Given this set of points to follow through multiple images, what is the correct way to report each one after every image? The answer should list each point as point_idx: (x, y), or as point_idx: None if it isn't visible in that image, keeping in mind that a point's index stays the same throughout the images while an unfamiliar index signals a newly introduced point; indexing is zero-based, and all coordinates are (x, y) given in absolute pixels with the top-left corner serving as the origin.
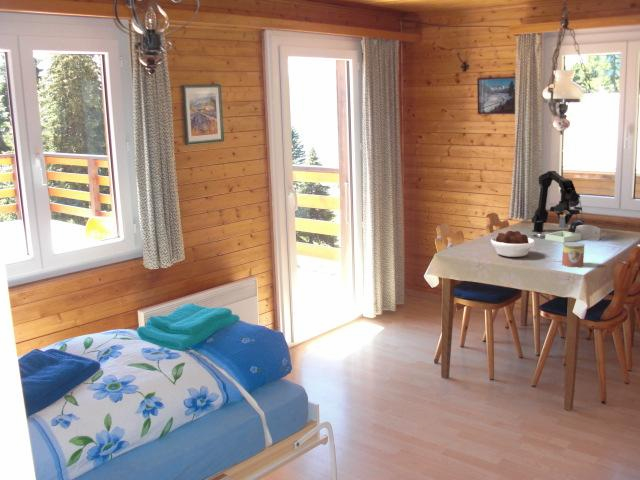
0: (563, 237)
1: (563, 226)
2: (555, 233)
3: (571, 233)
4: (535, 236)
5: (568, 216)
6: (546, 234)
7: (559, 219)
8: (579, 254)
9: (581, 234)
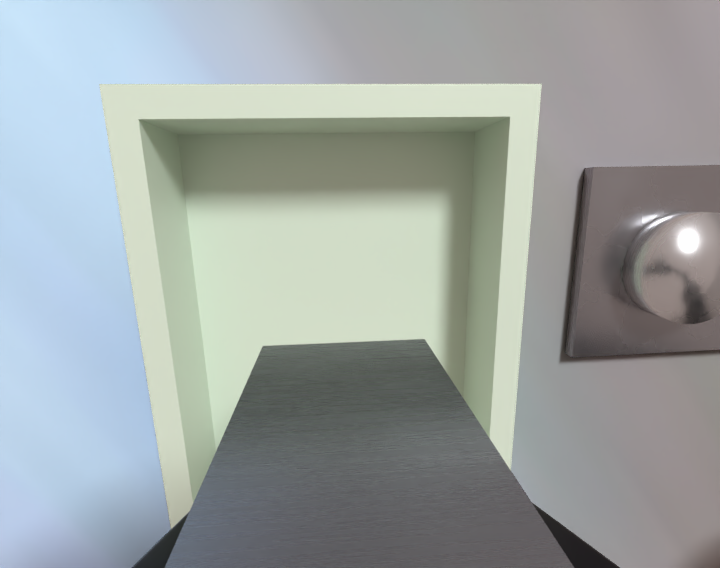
0: (120, 86)
1: (289, 361)
2: (489, 338)
3: None
4: (700, 166)
5: None
6: (518, 85)
7: (561, 536)
8: None
9: None
